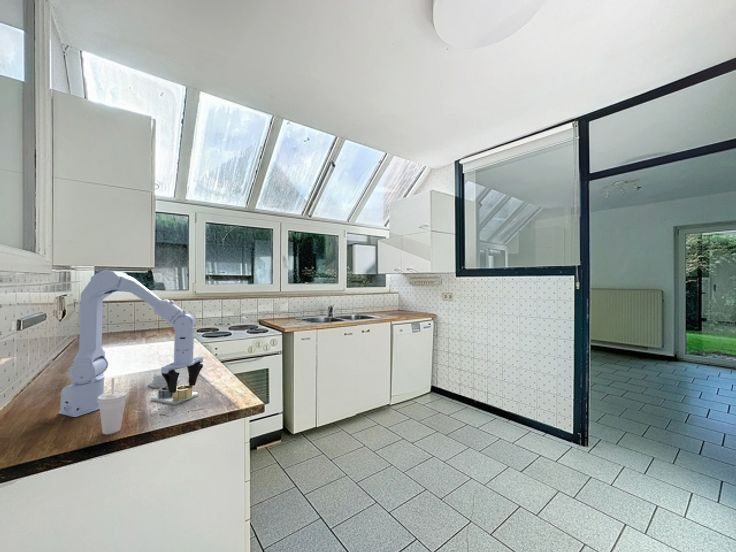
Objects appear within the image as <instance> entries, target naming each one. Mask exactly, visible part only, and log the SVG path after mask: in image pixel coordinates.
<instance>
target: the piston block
mask: <svg viewBox="0 0 736 552" xmlns="http://www.w3.org/2000/svg"><path fill="white" fill-rule="evenodd" d="M181 389H186V387H180V390H181ZM198 396H199V392H197V391H192V396H191V397H189V398H185V399H180V400H177V399H173V393H170V392H169V389H168V385H166V386H164V387H161V388H158V393H157V395H154V396H151V397H150V401H152V402H157V403H162V404H166V405H167V404H168V405H173V406H177V405H179V404H182V403H184V402H186V401H189V400H191V399H193V398H195V397H198Z"/></svg>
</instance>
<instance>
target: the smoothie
mask: <svg viewBox="0 0 736 552" xmlns="http://www.w3.org/2000/svg"><path fill="white" fill-rule="evenodd" d="M110 389H111V390H110V392H106V393H105V392H104V394H102V395H100V396H99V397H98V398H97V402H98V403H99V409H98V410H99V416H100V424H101V431H102V434H103V435H112V434H115V433H118V432H120V431H121V428H122V422H123V416H124V412H125V405H126V401H127V397H128V396H129V395H128V394H129V393H128V391H126V390H117V391H116V390H115V377H112V378H111V388H110Z"/></svg>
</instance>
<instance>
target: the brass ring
mask: <svg viewBox="0 0 736 552" xmlns="http://www.w3.org/2000/svg"><path fill="white" fill-rule="evenodd" d="M180 387H186V389H181V390H180ZM193 387H194V386H192V385H189V384H181V385H177V388H176V393H173V399H177V400H180V399H185V398H189V397H191V396H192V392H194V391H193V389H194V388H193Z"/></svg>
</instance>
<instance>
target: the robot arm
mask: <svg viewBox="0 0 736 552" xmlns="http://www.w3.org/2000/svg"><path fill="white" fill-rule="evenodd" d="M115 292H123V293H131V294H133V295H134V296H136V297H138V298H139V299H140V300H141V301H143V302H145V303H147V304H149V306H152V308H153V313H154V314H156V315H157V316H159V318H161V319H163V320H164V321H166V322H167V323H169V324H170V325H172V327H173V329H174V333H175V334H174V343H173V344H174V346H173V347H174V349H173V362H171V363H169V364H167V365H164V366H161V371H160V372H161V373H162V376H163V377H164V379H165V380H166V382H167V385H168V389H169V392H170V393H176V388H177V386H178V383H177V380H178V378H179V376H180V374H181V373H180V372H177V370H180V369H184V368H187V373H188V385H192V386H193V387H194V386H196V383H197V380H198V377H199V374H200V373H201V371H202V369H203V368H204V361H203V360H204V358H203V357H202V356H197V357H194V347H195V346H194V345H195V343H194V341H195V340H194V338H195V333H194V330H195V329H194V327H195V325H196V322H197V321H196V317H195V316H194V315H193V314H192V313H190V312H188V311H187V310H186V309H182V308H181V307H179V306H178V305H176V302H175V301H174V300H172V299H171V300H169V299H167V298H165V299H161V298H160V297H158V296H157V294H155V293H154V292H153V291H151V290H150V289H148V288H147V287H146V286H144V285H143V284H142V283H141V282H140V281H138V280H137V279H136V278H135V277H134V276H133V277H132V276H131V275H128V274H127V273H126V272H125V271H121V270H113V271H112V270H110V269H109V270H101V271H99V272H97V273H95V274H94V275H92V276H91V277H90V281H89V282H88V283H87V285H86V286H85V287H84V289H83V290H82V291H81V293H80V298H79V299H80V306H79V336H78V337H79V338H78V339H79V343H78V344H79V345H78V352H77V354H76V355H75V357H74V358H73V364H72V367H70V370H69V372H68V376H69V378H70V380H71V381H72V383H70V384H68V385H66V386H63V388H62V390H61V392H60V404H59V406H60V407H59V409H60V411H58V414H60V415H64V416H67V417H73V418H77V417H80V416H83V415H85V414H89V413H92V412H94V411H97V410H100V409H99V403H98V402H97V398H98V397H99V396H100V395H102V394H105V375H104V372H106V371H107V370H108V367H109V361H108V360H107V358H106V351H105V350H104V349H103V347H102V346H103V344H102V343H103V314H104V313H103V307H104V305H103V304H104V301H103V300H104V299H106V298H107V297H109V296H110V295H112V294H113V293H115ZM202 363H203V364H202Z"/></svg>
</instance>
